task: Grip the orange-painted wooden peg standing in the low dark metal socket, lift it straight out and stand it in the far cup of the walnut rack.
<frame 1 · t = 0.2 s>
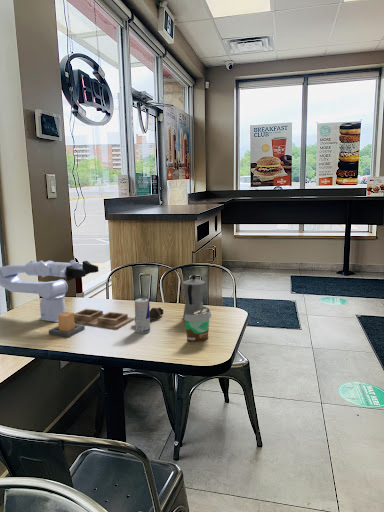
hand: (91, 271, 147), 21 cm above the table, tool horizontal, fingers open, 7 cm apart
food container: (201, 339, 135), on the table
orange peg: (67, 332, 143), resting in metal socket
metal socket: (67, 331, 143), on the table
coffeepot: (193, 319, 156), on the table
bolt: (151, 321, 155), on the table
walnut rack: (100, 320, 155), on the table
energy drink: (143, 331, 143), on the table
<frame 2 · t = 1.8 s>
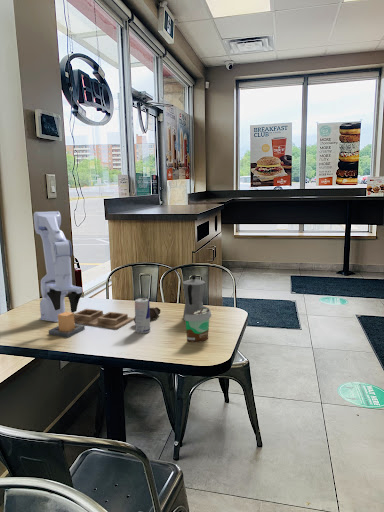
hand: (65, 310, 142), 8 cm above the table, tool pointing down, fingers open, 7 cm apart
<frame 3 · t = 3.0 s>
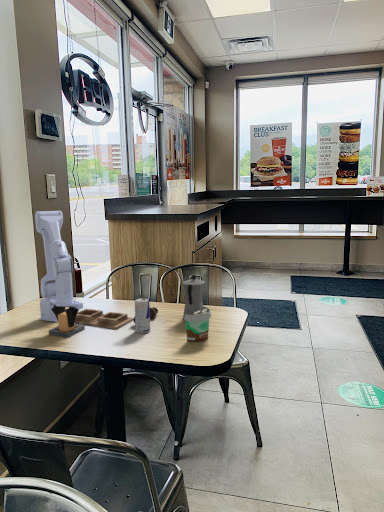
hand: (66, 325, 142), 2 cm above the table, tool pointing down, fingers closed on orange peg, 4 cm apart
orange peg: (67, 331, 143), resting in metal socket, touching gripper
when the fingers open (4 cm above the table, at t = 8.5 s): orange peg stays where it is, resting on walnut rack.
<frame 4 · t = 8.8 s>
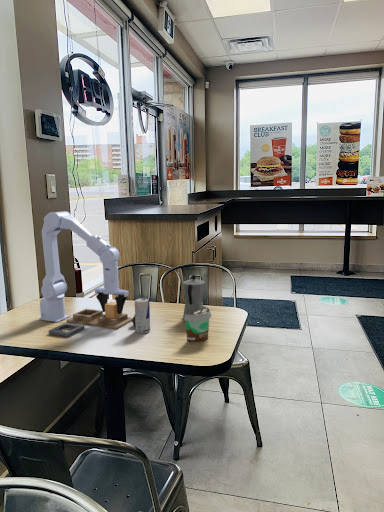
hand: (112, 312, 152), 4 cm above the table, tool pointing down, fingers open, 6 cm apart
orange peg: (112, 320, 152), point 1 cm above the table, touching walnut rack
bolt: (141, 321, 155), on the table
everything else where it was.
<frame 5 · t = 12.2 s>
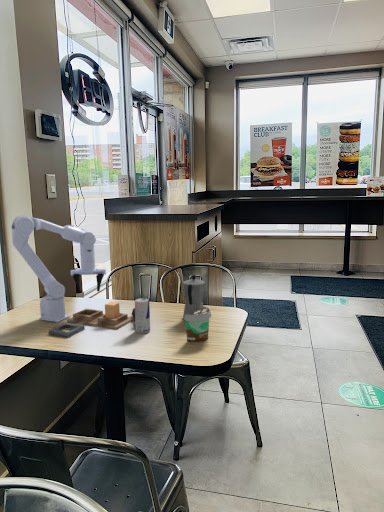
hand: (89, 291, 165), 9 cm above the table, tool pointing down, fingers open, 7 cm apart
at the end: orange peg 0.0 cm from the target spot on the walnut rack, point 0.8 cm above the walnut rack's base; orange peg tilted 0°; the gripper is holding nothing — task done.
